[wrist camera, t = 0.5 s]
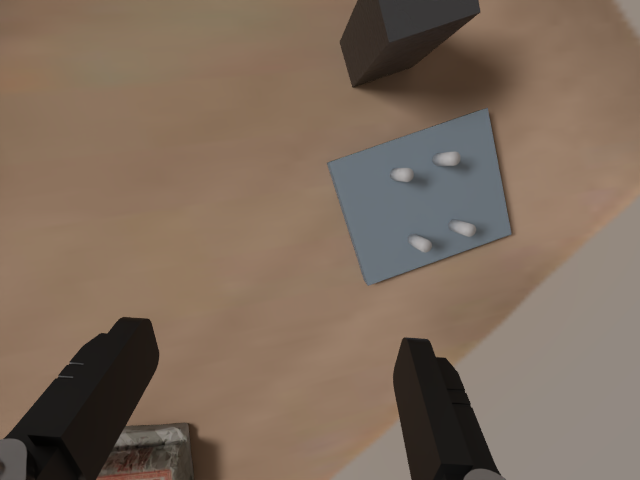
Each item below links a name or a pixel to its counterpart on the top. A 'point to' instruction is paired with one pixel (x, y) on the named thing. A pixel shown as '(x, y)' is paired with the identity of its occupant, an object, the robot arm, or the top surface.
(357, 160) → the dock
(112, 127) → the top surface
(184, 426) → the packaged product
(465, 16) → the block
